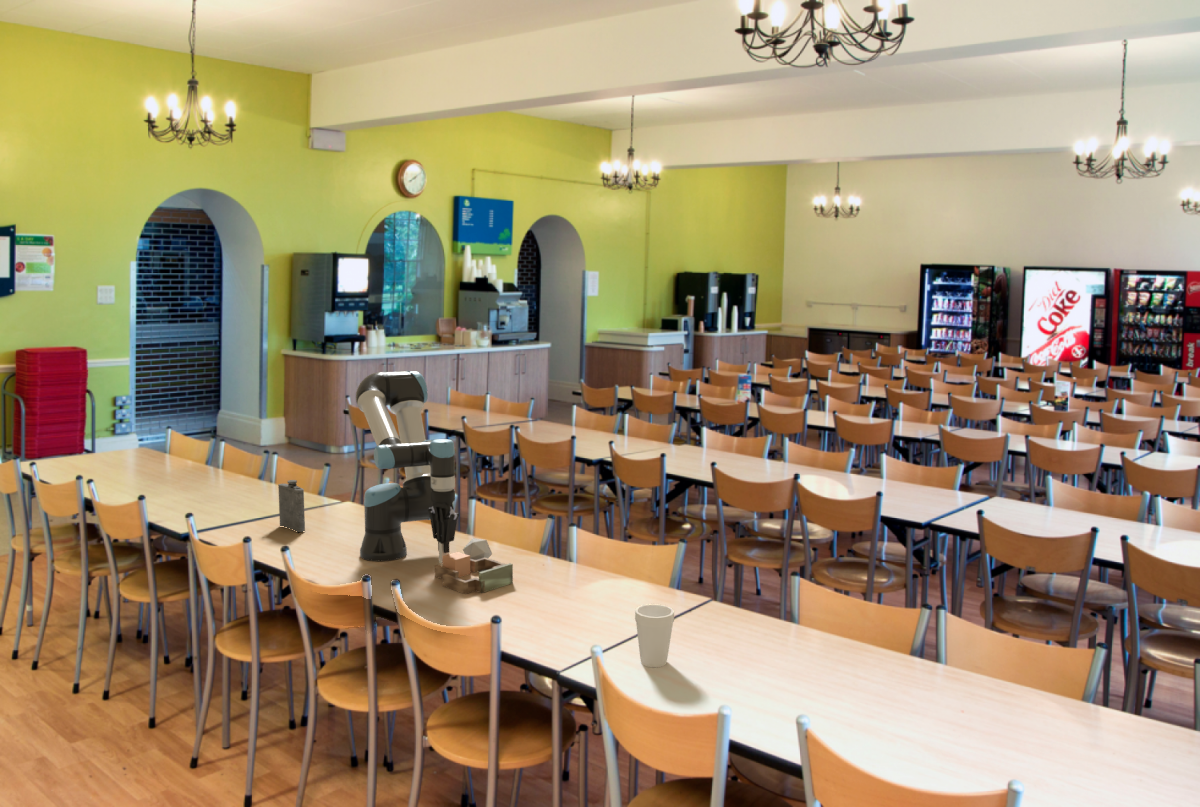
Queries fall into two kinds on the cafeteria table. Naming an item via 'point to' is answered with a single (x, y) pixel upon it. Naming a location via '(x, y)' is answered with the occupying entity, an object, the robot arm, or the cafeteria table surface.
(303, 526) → the flask
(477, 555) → the die
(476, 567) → the trap lane
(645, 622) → the foam cup
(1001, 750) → the cafeteria table surface
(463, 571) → the block
